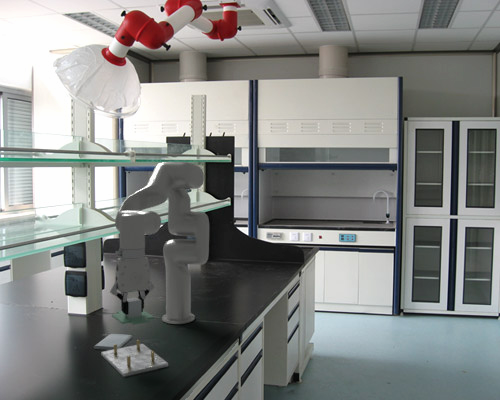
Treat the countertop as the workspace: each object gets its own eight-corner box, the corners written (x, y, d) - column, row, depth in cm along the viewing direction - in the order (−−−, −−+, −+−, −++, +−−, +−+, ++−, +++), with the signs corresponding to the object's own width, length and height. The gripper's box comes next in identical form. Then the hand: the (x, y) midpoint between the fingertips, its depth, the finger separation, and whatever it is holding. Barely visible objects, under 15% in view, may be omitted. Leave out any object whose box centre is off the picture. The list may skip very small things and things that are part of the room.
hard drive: (117, 347, 171) (131, 334, 183) (93, 345, 172) (109, 333, 184) (117, 352, 171) (131, 339, 183) (93, 350, 172) (109, 337, 185)
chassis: (101, 355, 167) (101, 342, 167) (142, 346, 175) (142, 334, 174) (123, 376, 150) (123, 363, 150) (168, 366, 158) (168, 353, 158)
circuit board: (109, 314, 164) (109, 297, 164) (139, 309, 170) (139, 292, 169) (125, 326, 152) (125, 307, 152) (157, 320, 158) (157, 302, 158)
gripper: (109, 258, 152) (110, 319, 153) (162, 253, 161) (162, 311, 162) (101, 254, 158) (102, 313, 159) (153, 249, 167) (153, 305, 169)
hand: (132, 311), depth 161 cm, fingers closed on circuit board, 4 cm apart
